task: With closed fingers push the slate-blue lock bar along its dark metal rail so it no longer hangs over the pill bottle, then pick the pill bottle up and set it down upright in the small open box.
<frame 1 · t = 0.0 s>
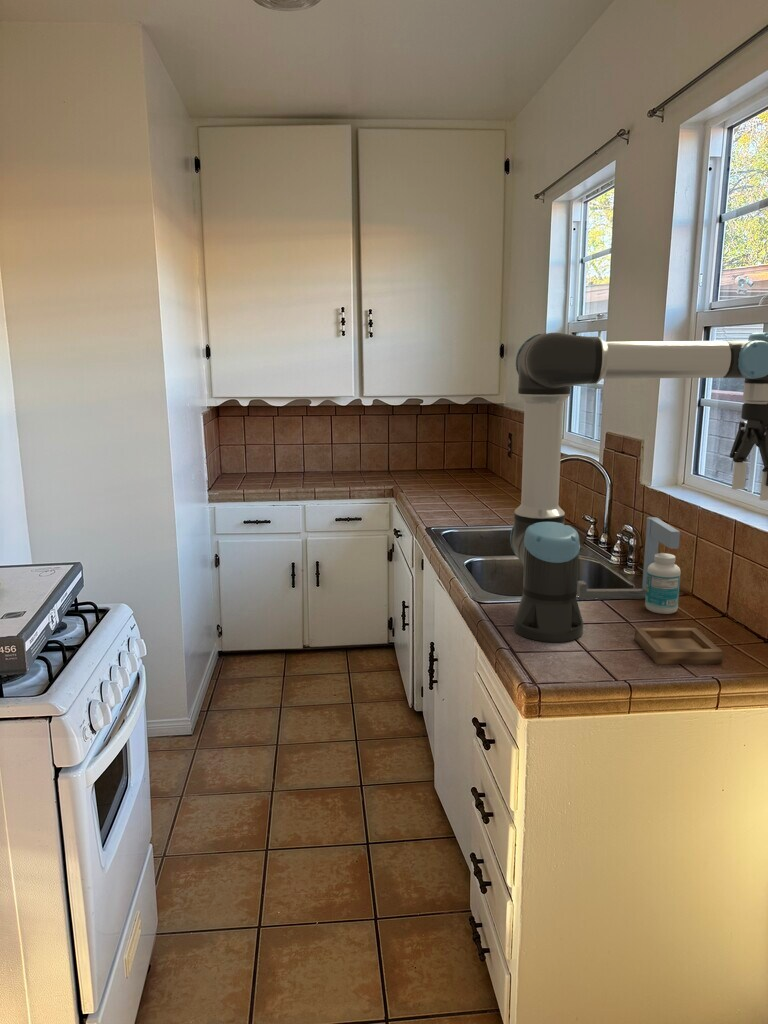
hand: (751, 494, 170), 28 cm above the worktop, fingers open, 13 cm apart
pill bottle: (660, 610, 176), on the worktop
gate rail: (624, 597, 185), on the worktop
lock bar: (660, 560, 176), point 11 cm above the worktop, slide at 0.0 cm
open box: (676, 650, 152), on the worktop
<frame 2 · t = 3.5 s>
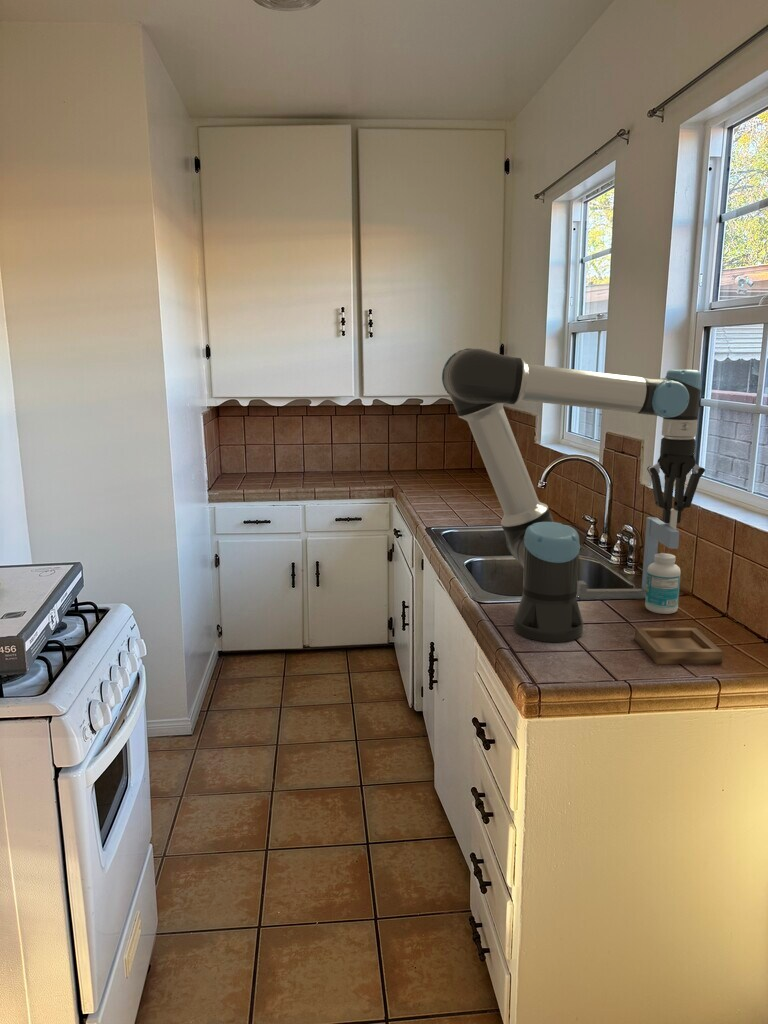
hand: (670, 536, 174), 18 cm above the worktop, fingers closed
lock bar: (660, 560, 176), point 11 cm above the worktop, slide at 0.1 cm, touching gripper
everything else where it was.
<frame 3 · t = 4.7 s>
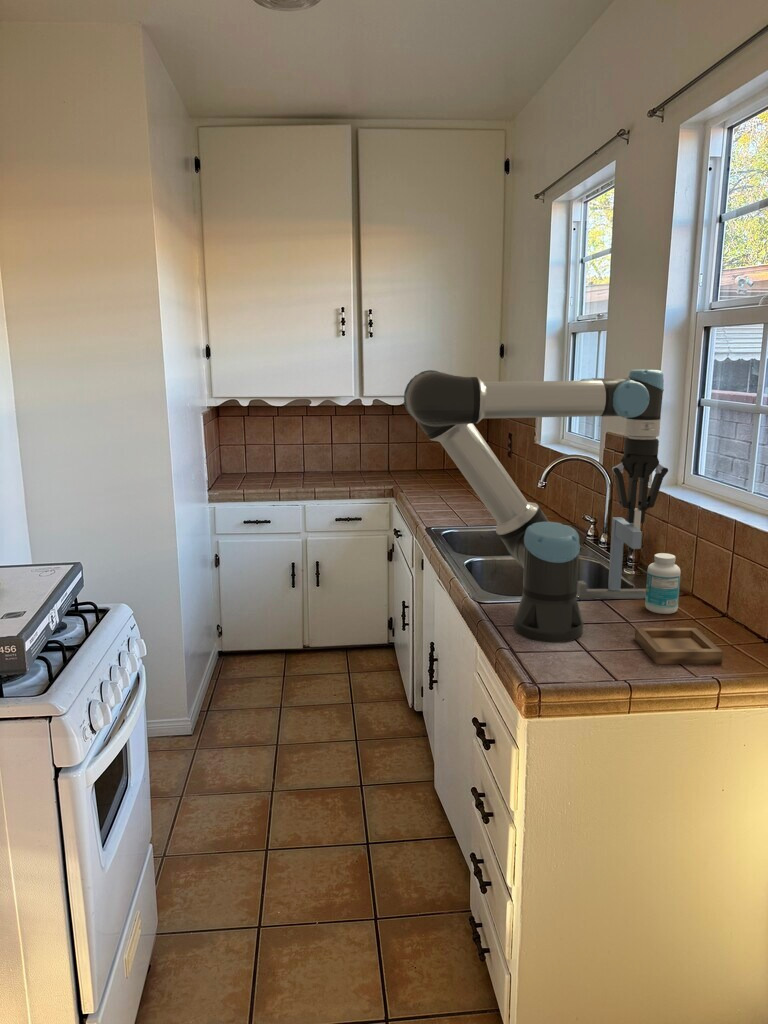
hand: (634, 536, 174), 18 cm above the worktop, fingers closed
lock bar: (624, 561, 176), point 11 cm above the worktop, slide at 8.7 cm, touching gripper
everything else where it was.
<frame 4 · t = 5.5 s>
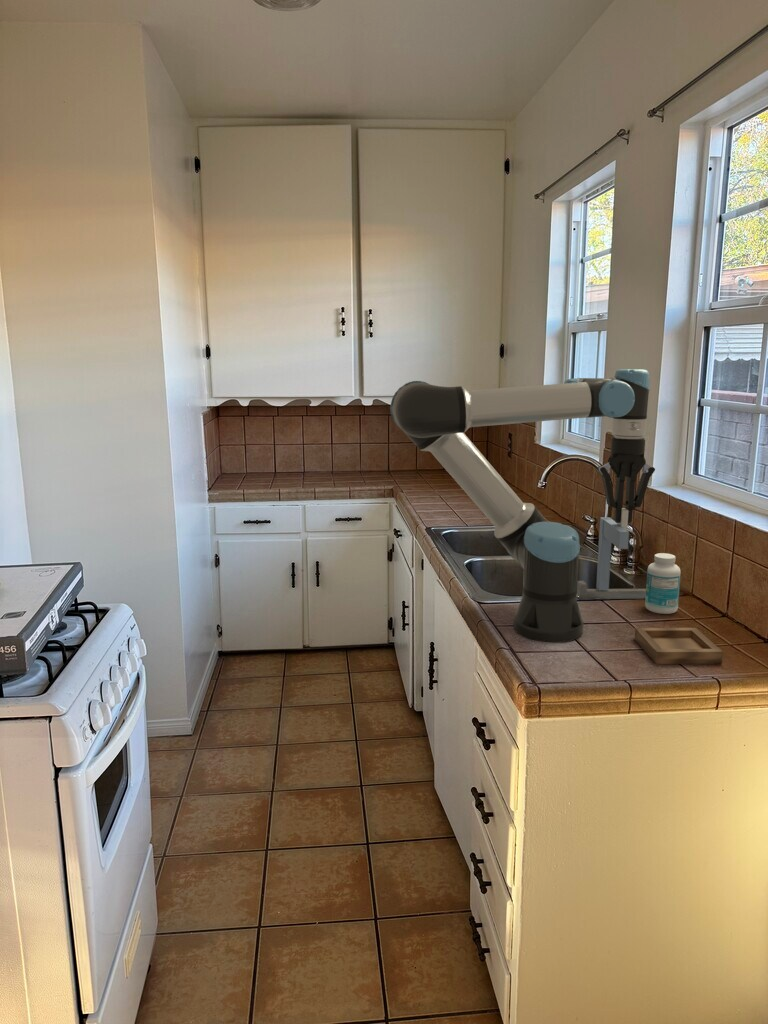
hand: (621, 535, 174), 18 cm above the worktop, fingers closed
lock bar: (612, 561, 176), point 11 cm above the worktop, slide at 11.6 cm, touching gripper
everything else where it was.
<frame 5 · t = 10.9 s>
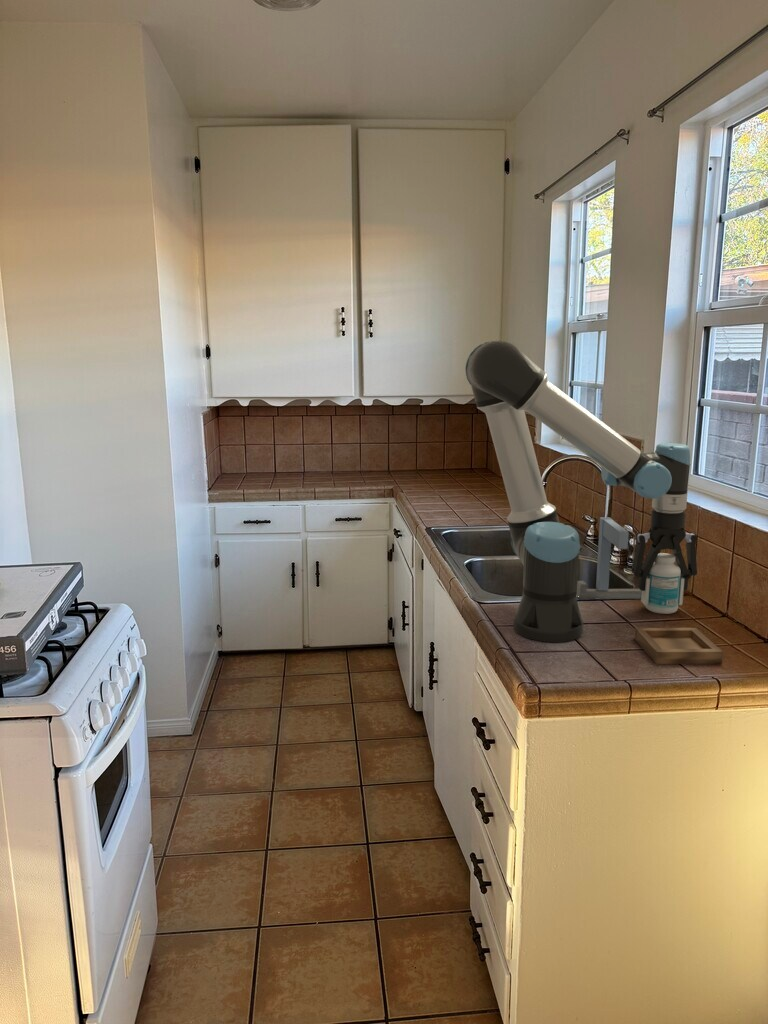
hand: (661, 603, 176), 2 cm above the worktop, fingers closed on pill bottle, 7 cm apart
pill bottle: (660, 610, 176), on the worktop, touching gripper
lock bar: (611, 561, 176), point 11 cm above the worktop, slide at 11.7 cm
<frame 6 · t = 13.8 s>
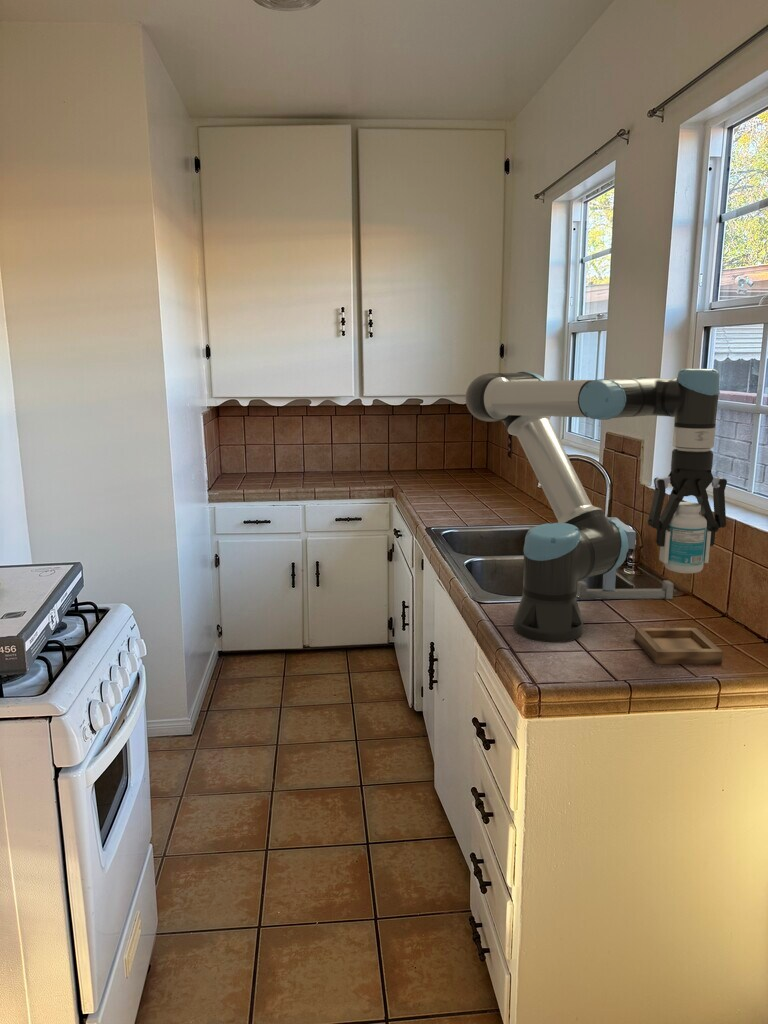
hand: (683, 561, 148), 19 cm above the worktop, fingers closed on pill bottle, 7 cm apart
pill bottle: (682, 570, 148), point 17 cm above the worktop, touching gripper
lock bar: (618, 561, 176), point 11 cm above the worktop, slide at 10.0 cm
when the fingers open (4 cm above the worktop, at t = 17.1 s): pill bottle drops 1 cm, resting on open box.
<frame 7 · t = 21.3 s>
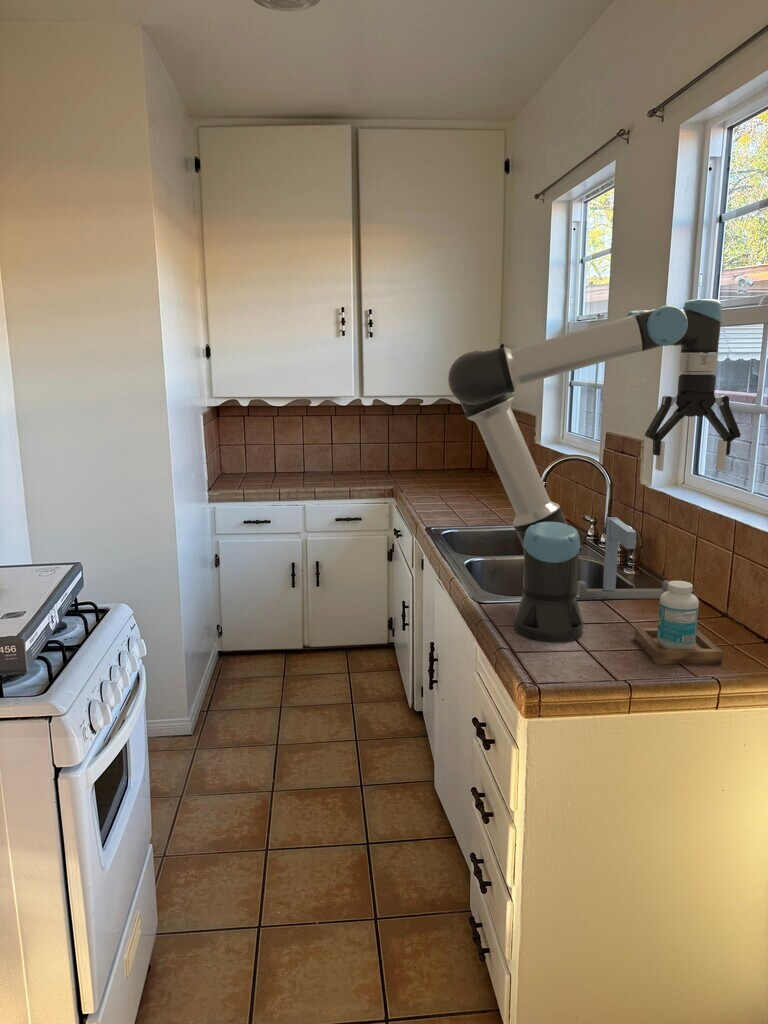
hand: (689, 470, 164), 35 cm above the worktop, fingers open, 13 cm apart
pill bottle: (675, 647, 151), point 1 cm above the worktop, touching open box
everything else where it was.
at the end: pill bottle inside the target area on the open box (0.3 cm from its centre), point 0.8 cm above the open box's base; pill bottle tilted 0°; lock bar slide at 9.9 cm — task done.
